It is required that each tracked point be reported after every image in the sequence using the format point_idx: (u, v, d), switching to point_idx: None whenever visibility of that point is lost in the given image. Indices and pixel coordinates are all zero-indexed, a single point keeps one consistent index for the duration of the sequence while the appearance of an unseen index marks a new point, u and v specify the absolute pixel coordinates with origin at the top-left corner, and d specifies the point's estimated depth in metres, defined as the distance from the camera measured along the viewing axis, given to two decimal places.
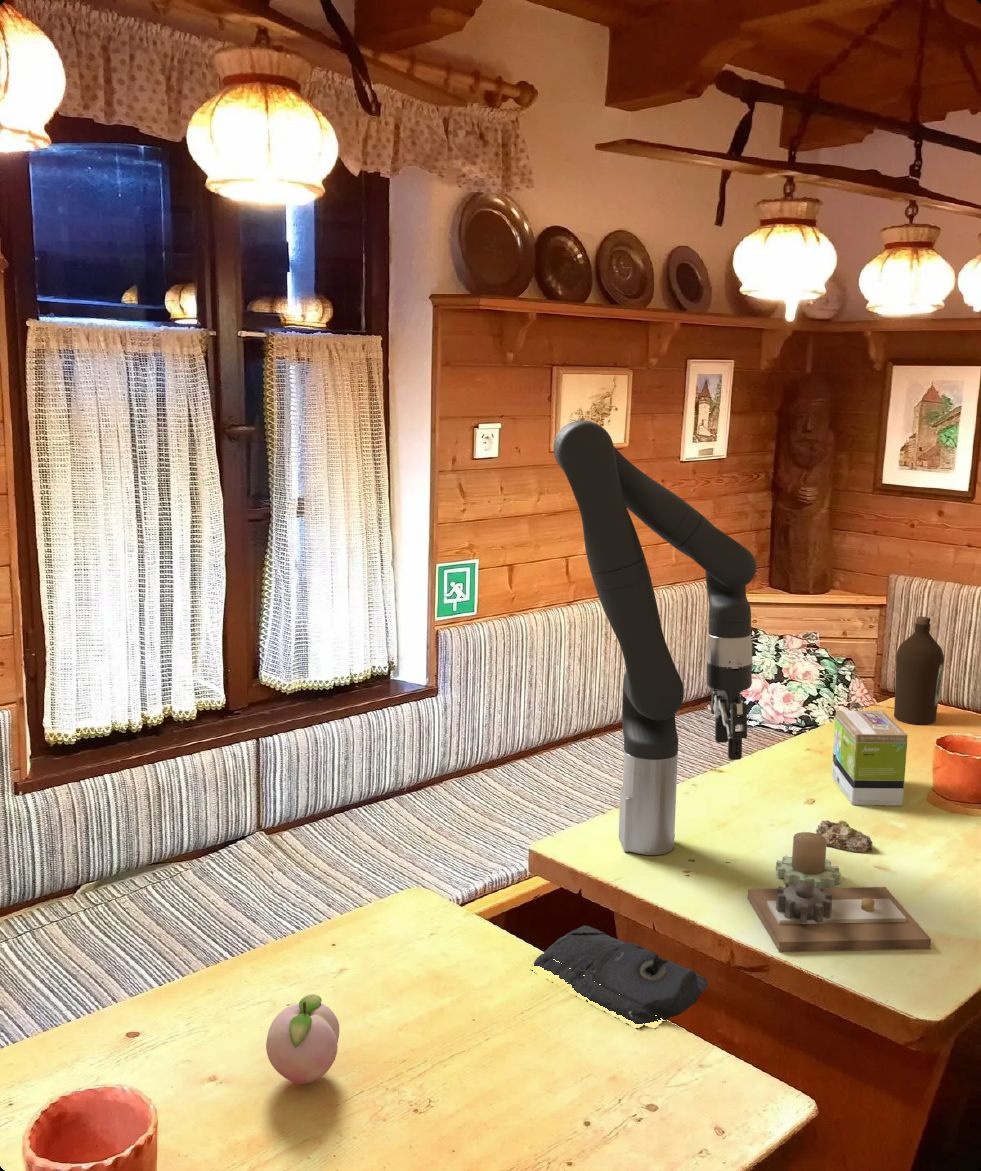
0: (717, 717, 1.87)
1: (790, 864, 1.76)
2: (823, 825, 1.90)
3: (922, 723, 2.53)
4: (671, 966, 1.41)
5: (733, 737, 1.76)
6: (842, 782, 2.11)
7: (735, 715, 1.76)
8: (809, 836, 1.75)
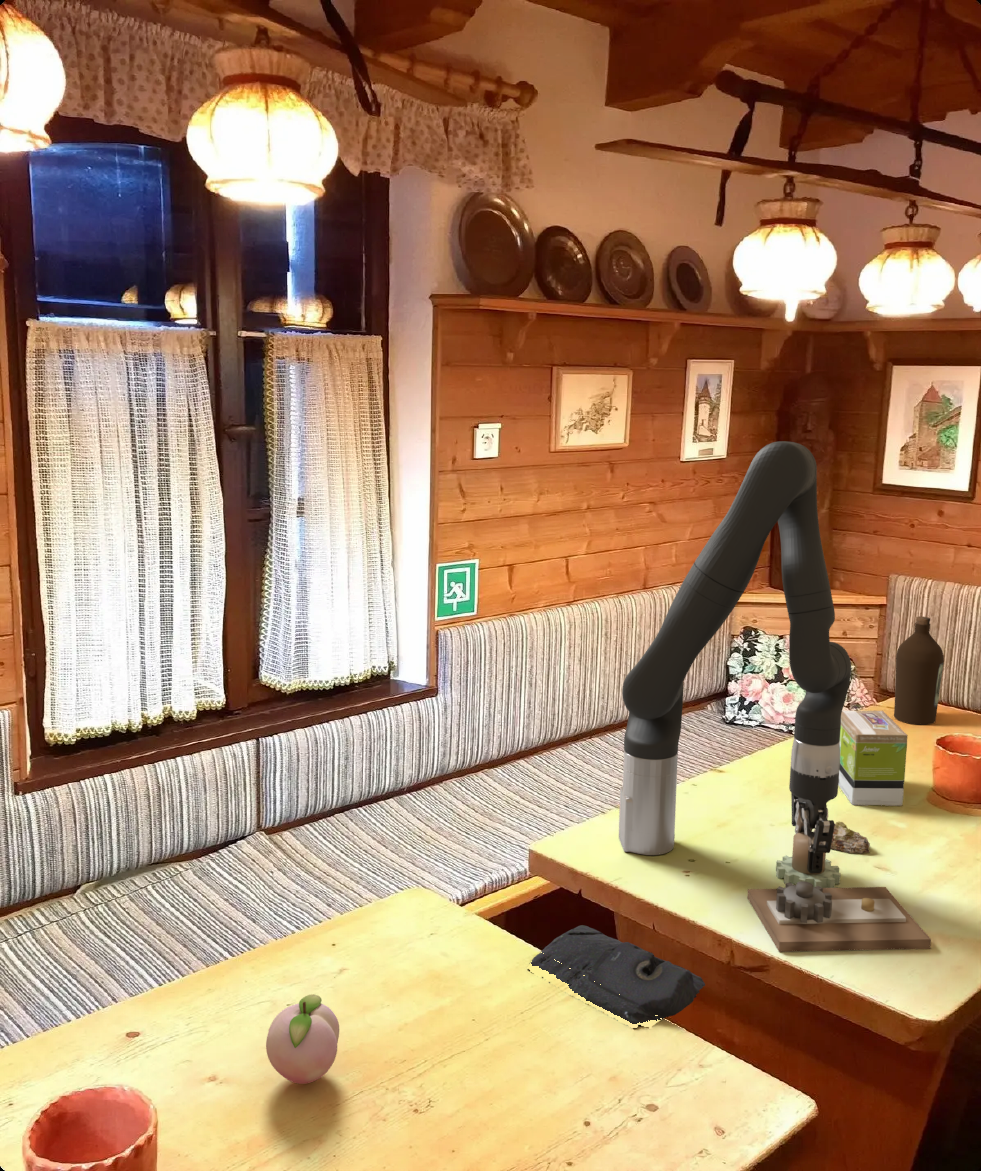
0: (799, 829, 1.76)
1: (790, 864, 1.76)
2: None
3: (922, 723, 2.53)
4: (668, 966, 1.41)
5: (815, 851, 1.68)
6: (842, 782, 2.11)
7: (821, 833, 1.67)
8: None
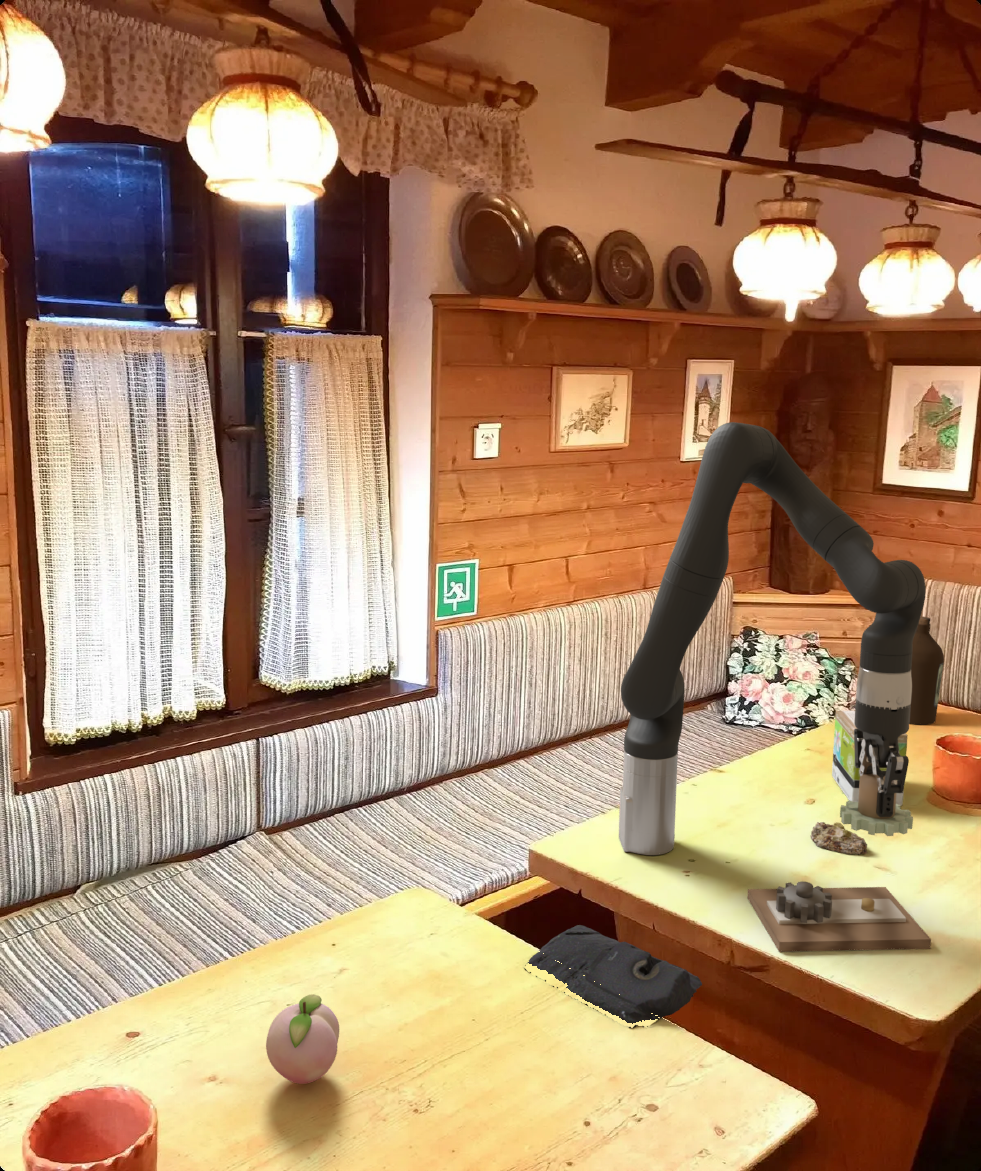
0: (865, 770, 1.59)
1: (856, 809, 1.59)
2: (818, 827, 1.89)
3: (922, 723, 2.53)
4: (665, 966, 1.41)
5: (887, 791, 1.52)
6: (842, 782, 2.11)
7: (893, 770, 1.50)
8: None
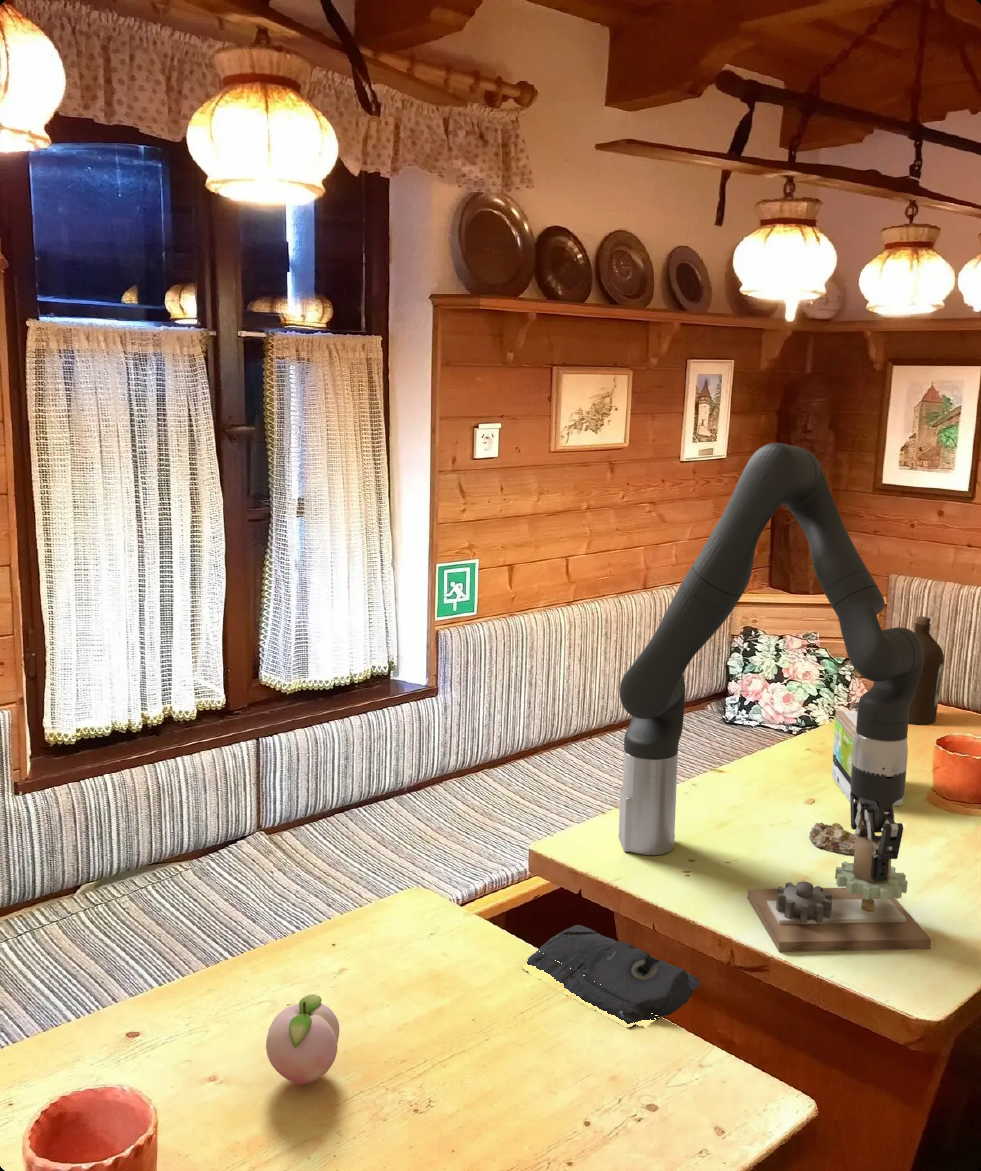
0: (860, 833, 1.61)
1: (851, 871, 1.60)
2: (817, 827, 1.89)
3: (922, 723, 2.53)
4: (663, 966, 1.41)
5: (882, 857, 1.53)
6: (842, 782, 2.11)
7: (888, 837, 1.51)
8: None
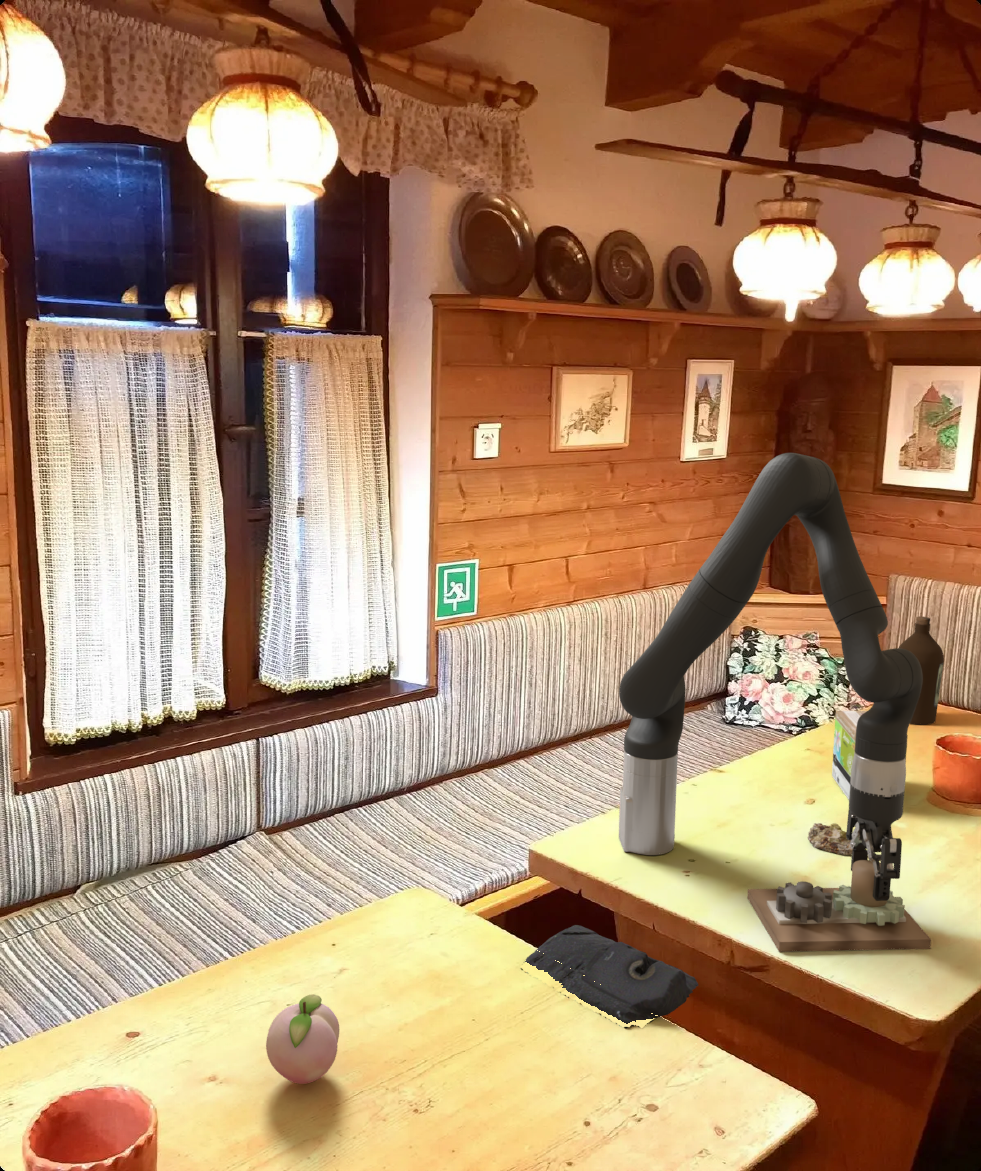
0: (856, 845, 1.62)
1: (848, 895, 1.61)
2: (815, 828, 1.89)
3: (922, 723, 2.53)
4: (660, 966, 1.41)
5: (884, 877, 1.52)
6: (842, 782, 2.11)
7: (888, 852, 1.51)
8: (870, 864, 1.60)
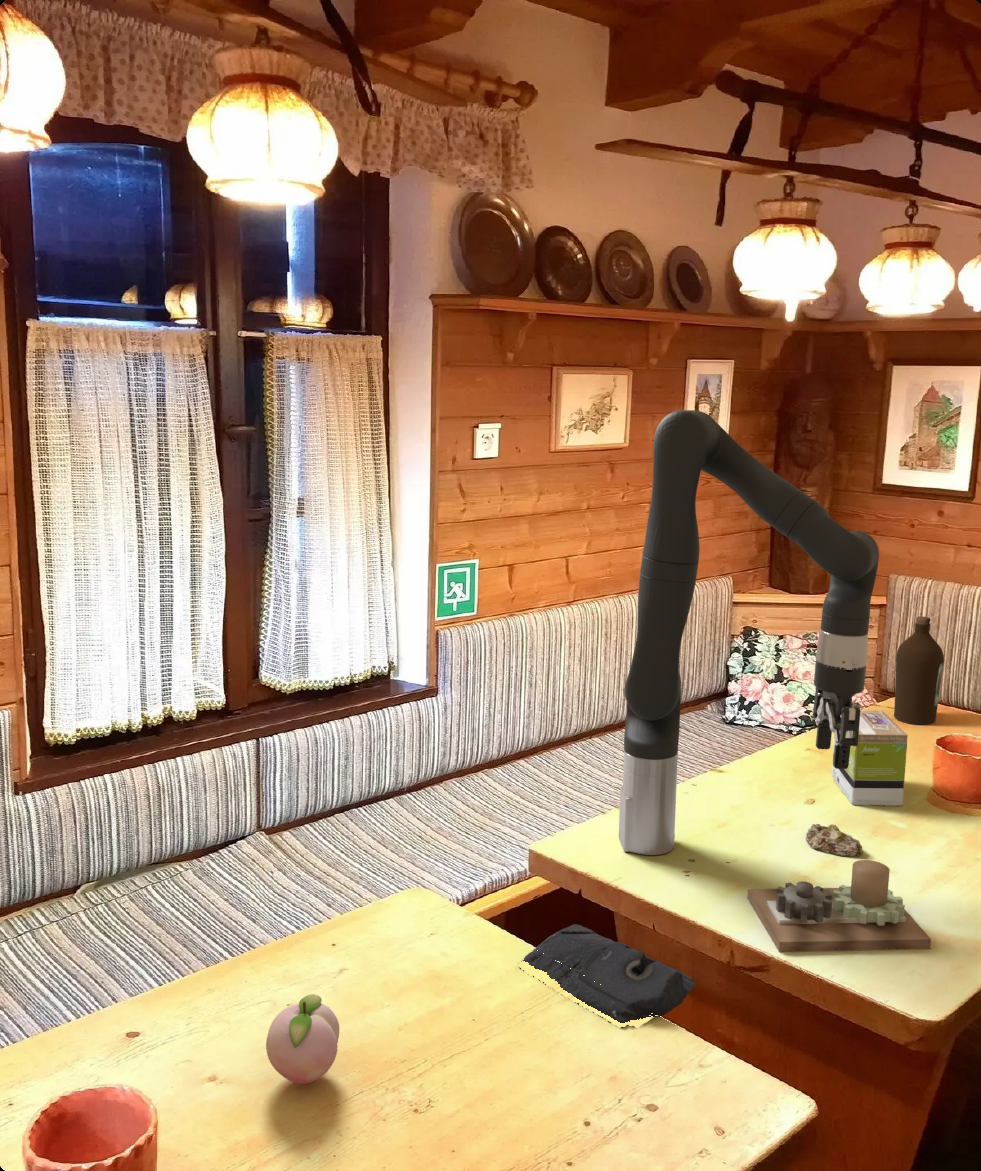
0: (820, 721, 1.72)
1: (848, 895, 1.61)
2: (813, 829, 1.89)
3: (922, 723, 2.53)
4: (658, 966, 1.41)
5: (842, 744, 1.62)
6: (842, 782, 2.11)
7: (847, 720, 1.61)
8: (870, 864, 1.60)
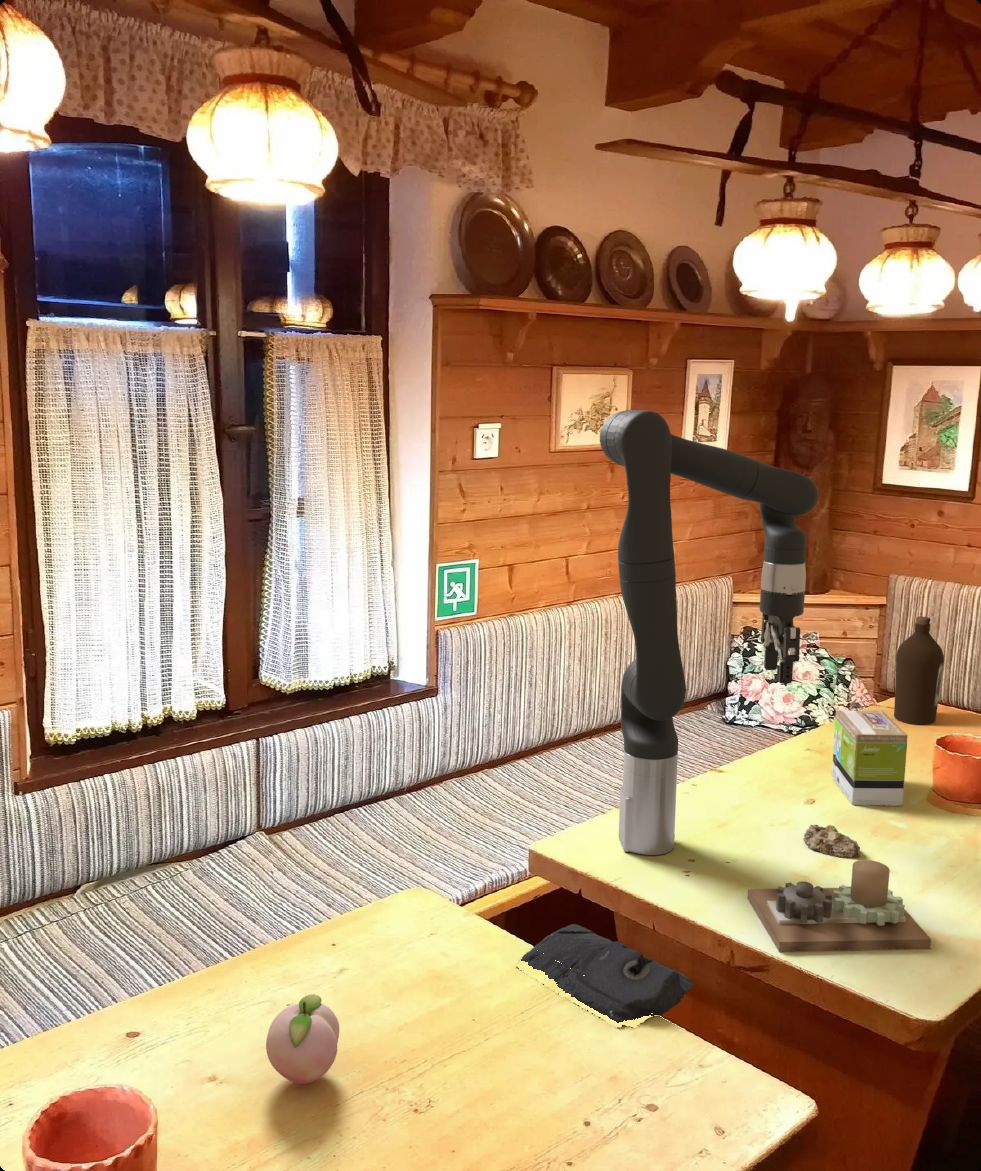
0: (767, 645, 1.93)
1: (848, 895, 1.61)
2: (811, 829, 1.88)
3: (922, 723, 2.53)
4: (655, 966, 1.41)
5: (786, 660, 1.83)
6: (842, 782, 2.11)
7: (788, 638, 1.82)
8: (870, 864, 1.60)
